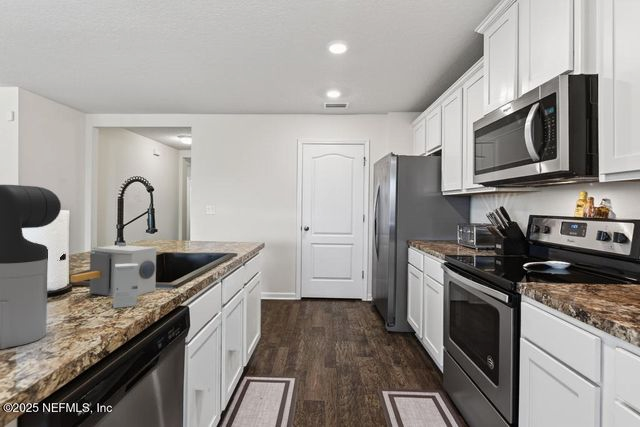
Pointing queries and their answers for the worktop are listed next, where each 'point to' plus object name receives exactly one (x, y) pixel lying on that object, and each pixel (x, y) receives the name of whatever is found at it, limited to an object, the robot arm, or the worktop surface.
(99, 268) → the hatch
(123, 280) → the skincare box
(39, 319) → the robot arm
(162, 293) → the worktop surface
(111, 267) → the grey box with disc
